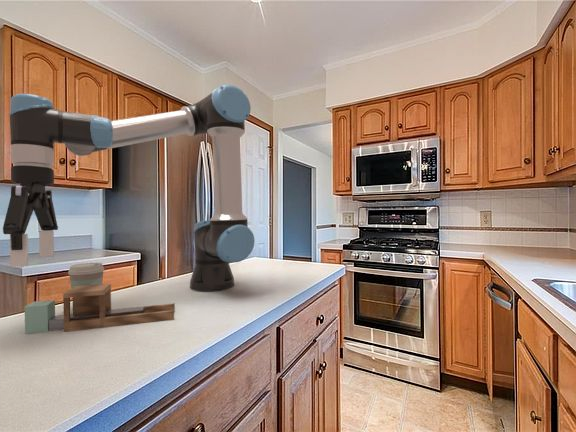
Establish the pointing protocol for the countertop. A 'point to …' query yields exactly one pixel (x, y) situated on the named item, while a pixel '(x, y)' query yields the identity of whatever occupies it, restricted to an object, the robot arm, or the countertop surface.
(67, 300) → the track
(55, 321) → the bar
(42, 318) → the block
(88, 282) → the coffee cup
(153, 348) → the countertop surface
